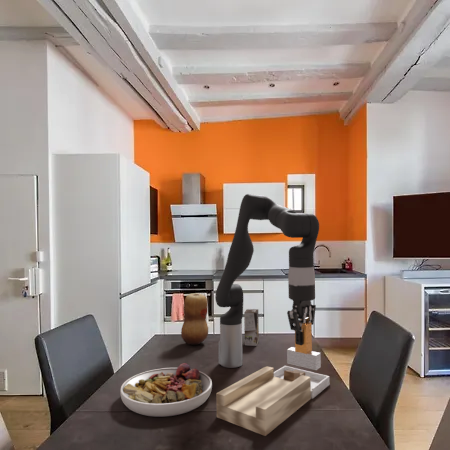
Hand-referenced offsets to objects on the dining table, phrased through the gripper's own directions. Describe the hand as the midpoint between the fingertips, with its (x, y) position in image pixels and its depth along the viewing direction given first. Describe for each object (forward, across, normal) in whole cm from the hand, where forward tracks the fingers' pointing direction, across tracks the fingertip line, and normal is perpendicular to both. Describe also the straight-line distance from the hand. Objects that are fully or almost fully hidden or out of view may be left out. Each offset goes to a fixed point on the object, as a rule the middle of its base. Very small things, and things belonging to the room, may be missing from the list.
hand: (302, 342), depth 104 cm
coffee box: (+23, -56, -56) cm, 82 cm away
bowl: (+23, +12, -44) cm, 51 cm away
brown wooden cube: (+21, -18, -14) cm, 31 cm away
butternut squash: (+23, -38, -78) cm, 90 cm away
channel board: (+23, -2, -14) cm, 27 cm away
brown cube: (+20, -21, -14) cm, 32 cm away
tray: (+23, -23, -14) cm, 36 cm away
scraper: (+6, 0, 0) cm, 6 cm away
